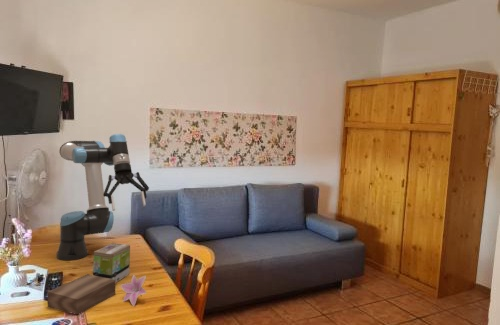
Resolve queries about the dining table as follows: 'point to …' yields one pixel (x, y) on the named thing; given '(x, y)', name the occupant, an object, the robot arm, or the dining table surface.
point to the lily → (133, 289)
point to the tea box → (112, 261)
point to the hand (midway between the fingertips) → (129, 207)
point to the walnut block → (81, 293)
